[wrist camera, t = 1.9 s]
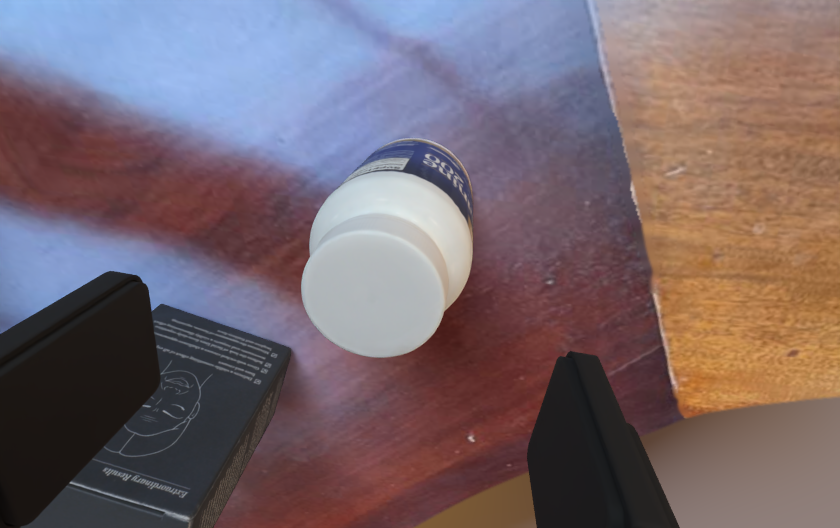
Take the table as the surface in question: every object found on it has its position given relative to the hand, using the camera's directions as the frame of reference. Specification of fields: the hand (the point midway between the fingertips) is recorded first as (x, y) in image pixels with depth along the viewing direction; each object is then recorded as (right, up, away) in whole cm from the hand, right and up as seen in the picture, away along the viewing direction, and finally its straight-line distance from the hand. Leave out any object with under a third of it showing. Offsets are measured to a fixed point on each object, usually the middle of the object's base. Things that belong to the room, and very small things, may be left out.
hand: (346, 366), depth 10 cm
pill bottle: (+1, +6, +11) cm, 12 cm away
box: (-10, -3, +16) cm, 20 cm away
